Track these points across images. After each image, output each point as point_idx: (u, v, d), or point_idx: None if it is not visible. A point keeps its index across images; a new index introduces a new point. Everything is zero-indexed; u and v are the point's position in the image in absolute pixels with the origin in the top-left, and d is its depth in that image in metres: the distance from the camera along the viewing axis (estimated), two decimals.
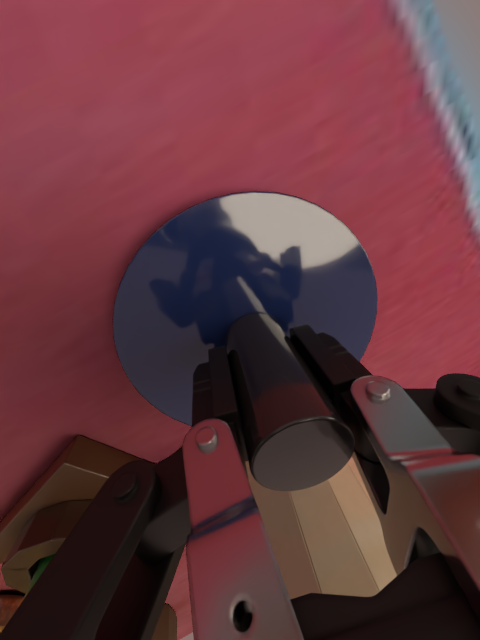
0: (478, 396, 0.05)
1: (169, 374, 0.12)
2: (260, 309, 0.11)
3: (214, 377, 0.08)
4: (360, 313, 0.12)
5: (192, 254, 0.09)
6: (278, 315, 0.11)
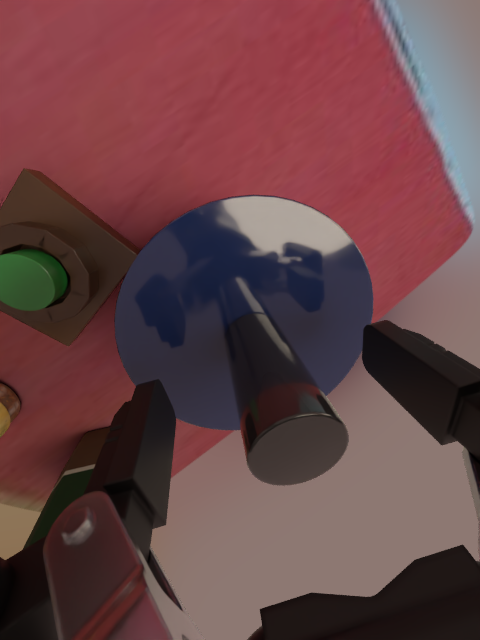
0: None
1: (169, 373, 0.12)
2: (258, 310, 0.11)
3: (127, 425, 0.07)
4: (356, 313, 0.12)
5: (192, 256, 0.10)
6: (276, 315, 0.11)
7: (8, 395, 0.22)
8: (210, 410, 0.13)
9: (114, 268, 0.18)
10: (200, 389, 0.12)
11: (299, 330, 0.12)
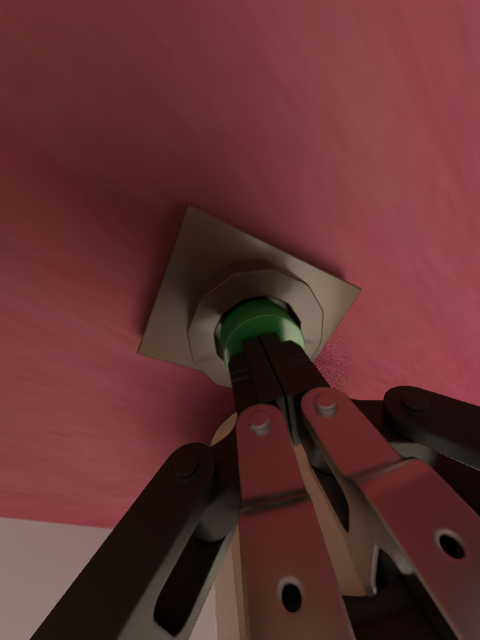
0: (422, 410, 0.05)
1: None
2: None
3: (253, 366, 0.08)
4: None
5: None
6: None
7: None
8: None
9: None
10: None
11: None
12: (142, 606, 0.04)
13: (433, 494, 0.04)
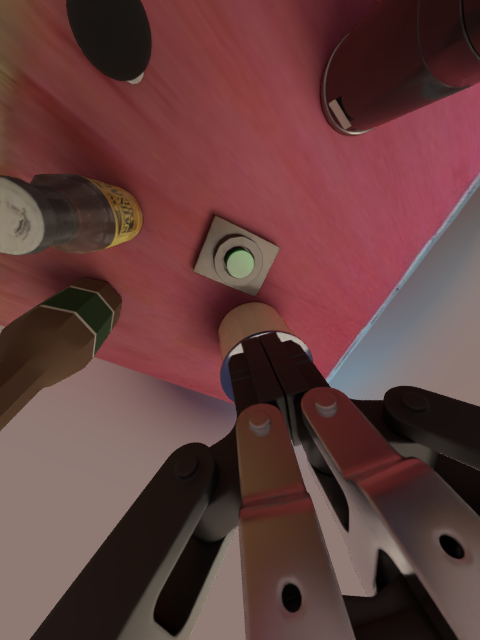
0: (422, 411, 0.05)
1: None
2: None
3: (253, 366, 0.08)
4: None
5: None
6: None
7: None
8: None
9: (246, 288, 0.36)
10: None
11: None
12: (142, 606, 0.04)
13: (433, 494, 0.04)
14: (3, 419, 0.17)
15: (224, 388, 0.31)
